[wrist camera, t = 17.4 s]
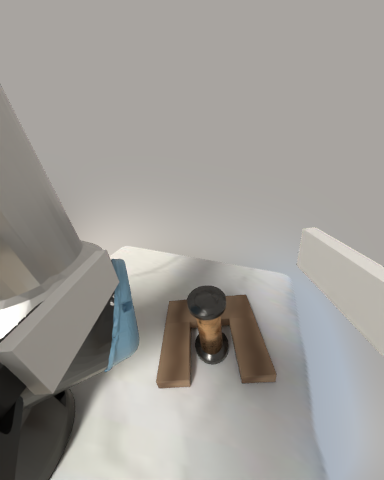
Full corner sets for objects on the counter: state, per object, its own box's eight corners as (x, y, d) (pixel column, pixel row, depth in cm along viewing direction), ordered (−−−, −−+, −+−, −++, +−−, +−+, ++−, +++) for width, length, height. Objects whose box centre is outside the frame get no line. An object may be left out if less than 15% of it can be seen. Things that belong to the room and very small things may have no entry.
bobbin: (196, 365, 29) (186, 317, 24) (195, 332, 34) (187, 287, 29) (231, 362, 29) (229, 313, 23) (225, 330, 34) (222, 284, 29)
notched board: (158, 388, 27) (156, 381, 26) (170, 307, 41) (169, 301, 40) (275, 381, 26) (276, 374, 25) (245, 300, 40) (245, 294, 39)
